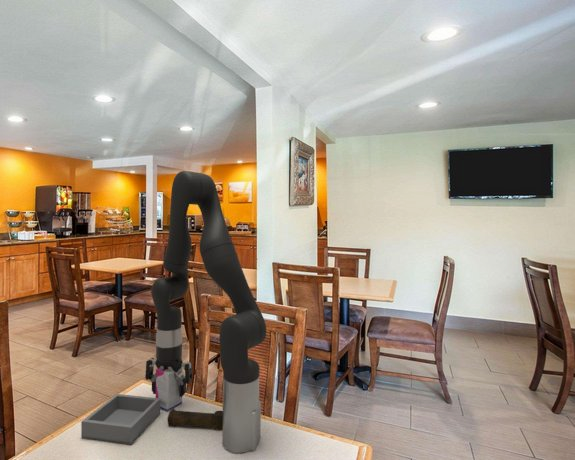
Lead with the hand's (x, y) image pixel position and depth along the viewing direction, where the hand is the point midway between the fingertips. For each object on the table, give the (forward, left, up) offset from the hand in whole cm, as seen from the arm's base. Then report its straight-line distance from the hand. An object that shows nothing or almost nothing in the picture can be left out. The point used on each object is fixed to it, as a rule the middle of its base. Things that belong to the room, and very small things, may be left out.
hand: (168, 394), depth 104 cm
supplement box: (0, 0, -3) cm, 3 cm away
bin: (+7, +12, -3) cm, 14 cm away
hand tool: (-14, +8, -4) cm, 17 cm away
